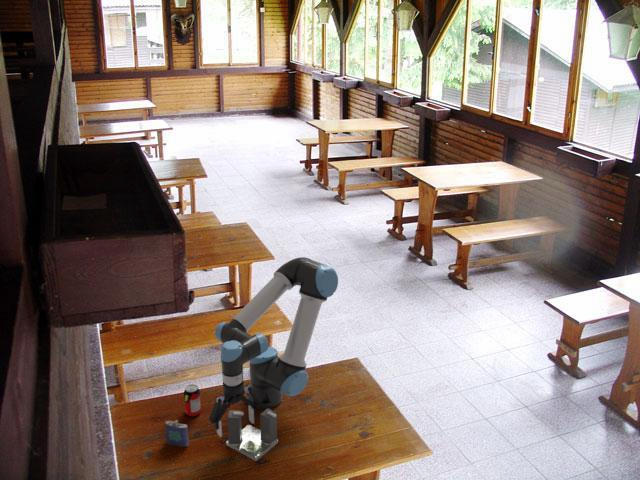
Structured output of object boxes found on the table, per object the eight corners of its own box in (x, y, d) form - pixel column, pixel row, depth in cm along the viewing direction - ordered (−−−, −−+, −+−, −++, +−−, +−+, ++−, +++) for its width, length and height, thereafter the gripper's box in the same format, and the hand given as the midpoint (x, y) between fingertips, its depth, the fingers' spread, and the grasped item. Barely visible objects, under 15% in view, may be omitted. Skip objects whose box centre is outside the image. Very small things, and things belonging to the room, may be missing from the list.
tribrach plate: (225, 445, 244) (224, 438, 243) (248, 426, 254) (248, 420, 253) (256, 462, 236) (255, 455, 235) (279, 442, 246) (279, 435, 245)
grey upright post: (228, 443, 242) (227, 416, 237) (230, 436, 246) (229, 408, 241) (243, 444, 242) (242, 416, 237) (245, 436, 246) (244, 409, 241)
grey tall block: (260, 440, 244) (260, 412, 240) (268, 434, 248) (267, 406, 243) (272, 446, 241) (271, 418, 237) (279, 439, 245) (279, 412, 240)
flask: (190, 443, 245) (188, 420, 241) (186, 448, 242) (184, 425, 238) (168, 439, 247) (166, 416, 243) (164, 443, 244) (162, 420, 240)
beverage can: (199, 406, 266) (198, 382, 261) (202, 415, 260) (200, 391, 256) (184, 409, 264) (182, 385, 260) (186, 418, 258) (184, 393, 254)
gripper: (206, 398, 225) (210, 446, 233) (267, 374, 238) (269, 421, 246) (197, 387, 230) (201, 434, 239) (257, 365, 244) (259, 411, 252)
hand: (235, 428), depth 242 cm, fingers open, 13 cm apart
